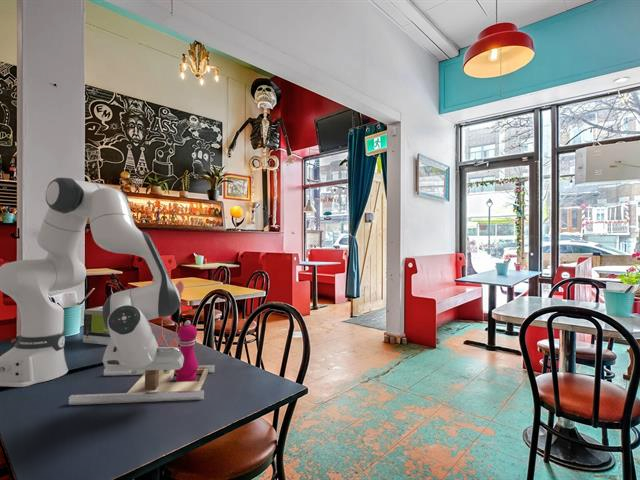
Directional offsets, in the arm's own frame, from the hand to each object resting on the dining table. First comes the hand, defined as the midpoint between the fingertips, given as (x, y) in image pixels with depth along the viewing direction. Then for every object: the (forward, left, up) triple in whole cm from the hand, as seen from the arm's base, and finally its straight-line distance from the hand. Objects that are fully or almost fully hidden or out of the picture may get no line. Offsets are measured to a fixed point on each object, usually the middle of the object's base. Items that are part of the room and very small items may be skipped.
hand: (150, 371), depth 102 cm
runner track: (-2, +6, -7) cm, 10 cm away
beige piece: (+4, +6, -7) cm, 10 cm away
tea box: (-37, +57, -7) cm, 68 cm away
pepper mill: (+8, +10, -7) cm, 15 cm away
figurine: (-9, +38, -7) cm, 39 cm away
